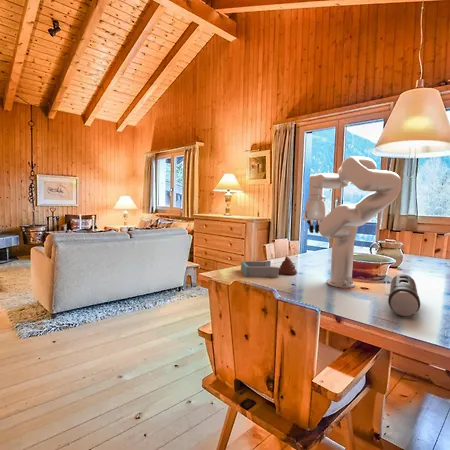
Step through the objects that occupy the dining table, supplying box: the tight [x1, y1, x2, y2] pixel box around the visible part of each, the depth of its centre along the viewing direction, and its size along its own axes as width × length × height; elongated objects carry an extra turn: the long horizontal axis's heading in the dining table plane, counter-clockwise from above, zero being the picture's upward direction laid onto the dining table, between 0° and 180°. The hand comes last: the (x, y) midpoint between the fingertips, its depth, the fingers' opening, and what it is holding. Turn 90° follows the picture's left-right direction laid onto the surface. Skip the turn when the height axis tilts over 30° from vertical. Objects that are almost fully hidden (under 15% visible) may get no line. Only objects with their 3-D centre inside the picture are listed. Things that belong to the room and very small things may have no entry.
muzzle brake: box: [387, 273, 421, 317], centre depth 118 cm, size 10×28×10 cm, turn 151°
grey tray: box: [240, 260, 280, 278], centre depth 166 cm, size 18×17×5 cm
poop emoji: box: [278, 255, 298, 276], centre depth 167 cm, size 10×8×9 cm
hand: (314, 232), depth 168 cm, fingers closed
